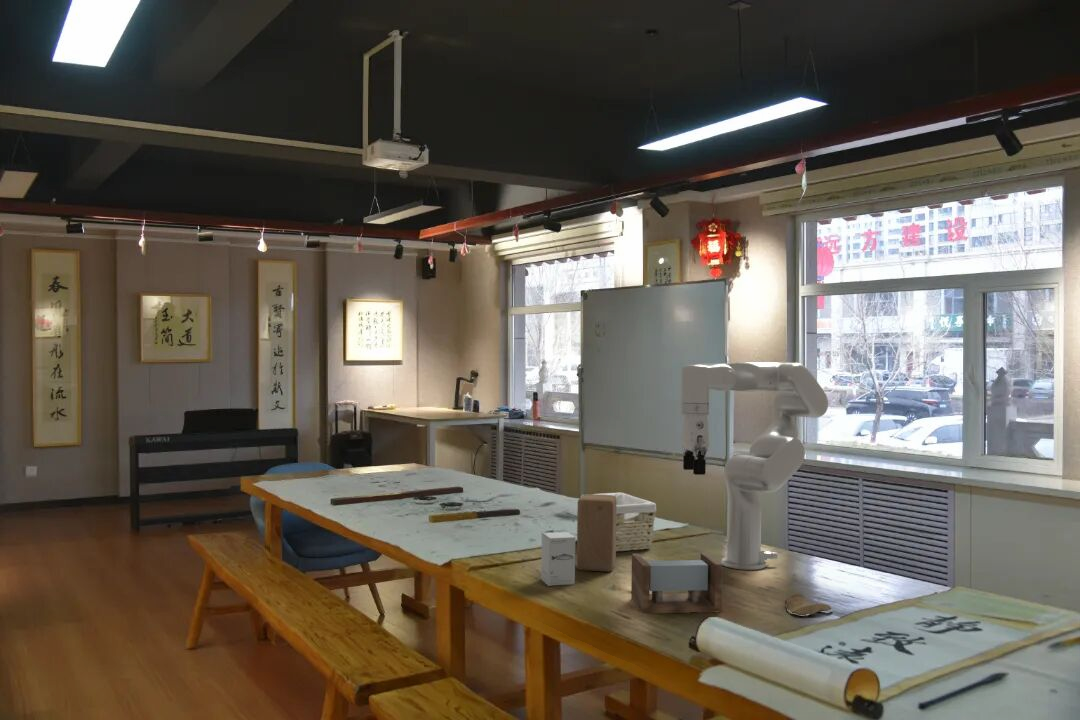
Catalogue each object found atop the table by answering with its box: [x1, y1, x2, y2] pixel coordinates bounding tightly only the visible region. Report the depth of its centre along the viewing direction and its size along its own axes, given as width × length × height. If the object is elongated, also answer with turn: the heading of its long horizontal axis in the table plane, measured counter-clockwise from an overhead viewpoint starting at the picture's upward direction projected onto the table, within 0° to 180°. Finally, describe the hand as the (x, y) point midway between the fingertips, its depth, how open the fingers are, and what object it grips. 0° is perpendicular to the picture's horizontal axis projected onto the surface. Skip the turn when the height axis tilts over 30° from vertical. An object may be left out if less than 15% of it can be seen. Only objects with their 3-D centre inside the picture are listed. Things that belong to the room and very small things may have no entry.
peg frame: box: [630, 552, 723, 614], centre depth 209 cm, size 19×12×11 cm, turn 96°
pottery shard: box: [784, 593, 832, 616], centre depth 206 cm, size 11×4×10 cm
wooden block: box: [576, 493, 617, 573], centre depth 245 cm, size 10×10×20 cm
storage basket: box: [580, 491, 657, 552], centre depth 276 cm, size 24×16×15 cm
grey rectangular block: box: [645, 559, 708, 592], centre depth 209 cm, size 14×5×6 cm, turn 96°
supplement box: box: [540, 531, 576, 587], centre depth 229 cm, size 7×7×13 cm
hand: (694, 471), depth 238 cm, fingers open, 9 cm apart
